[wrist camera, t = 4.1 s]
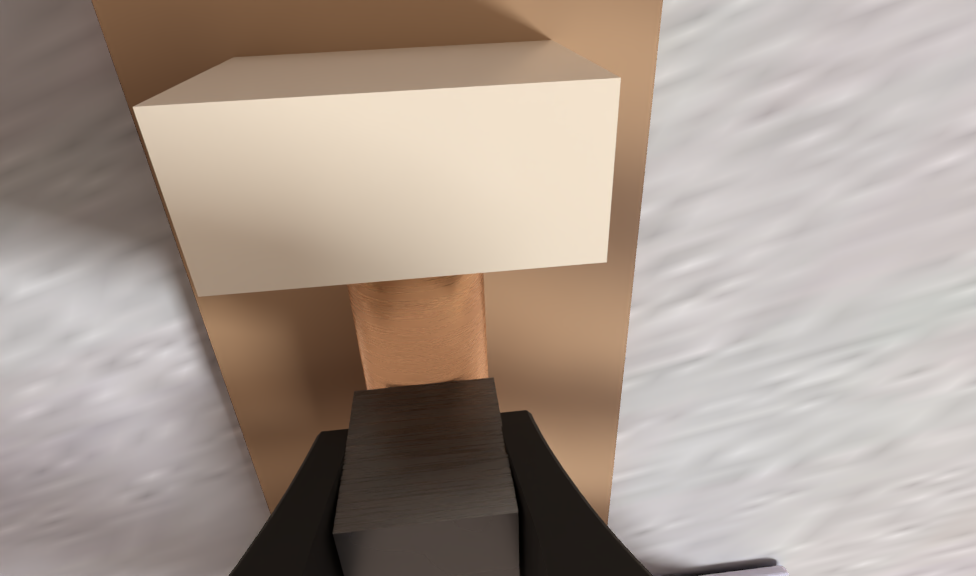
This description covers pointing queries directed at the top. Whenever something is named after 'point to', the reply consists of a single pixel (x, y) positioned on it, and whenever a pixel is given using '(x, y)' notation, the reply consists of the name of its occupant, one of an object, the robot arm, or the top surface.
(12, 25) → the top surface
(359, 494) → the brown piece
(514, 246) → the cream rectangular block
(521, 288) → the walnut board
